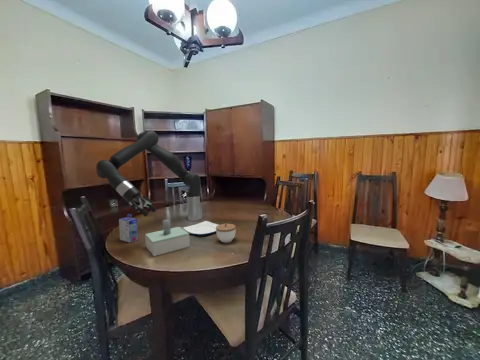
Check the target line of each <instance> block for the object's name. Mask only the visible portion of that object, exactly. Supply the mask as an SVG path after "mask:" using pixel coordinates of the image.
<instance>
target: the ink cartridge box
mask: <svg viewBox="0 0 480 360" xmlns="http://www.w3.org/2000/svg"><path fill="white" fill-rule="evenodd" d="M132 216H133V214H132V213H131V214H130V213H128V214H127V216H126V217H122V218H119V219H118V224H119V225H118V226H119V228H118V229H119V240H120V241H123V242H127V243H133V242H137V241H138V240H139V231H138V229H139V227H138V219H137V218H135V217H134V218H133V217H132Z"/></svg>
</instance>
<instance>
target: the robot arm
mask: <svg viewBox="0 0 480 360" xmlns="http://www.w3.org/2000/svg"><path fill="white" fill-rule="evenodd" d="M136 137H137V138H136V140H137V141H135V142H133V143H130V144H129V145H128V146H125V147H124V148H121V149H120V150H118V151H117V152H115V153H114V154H112V155H111V156H110V157H109V159H108V160H105V159H101V160H98V161H97V163H96V166H95V168H96V172H95V173H96V175H97V177H98V178H101V179H106V180H107V181H108V183H109V185H110V186H111V187H112V189H114V190H115V191H116V192H117V193H118V194H119V195H120V196H121V197H122V198H123V200H125V201H126V202H127V203H128V204H127V205H128V206H129V207H130V208H131V209H133V211H134V212H135V213H141V215H143V216H144V217H148V215H149V214H150V212H148V211H147V210H146V209H145V208H144V207H147V208H148V209H149V210H150V211H151V212H152V213H155V212H156V211H157V208H156V207H155V206H154V205H153V203H154V202H153V201H152V200H150V199H149V198H148V196H147V195H145V194H144V195H143V196H142V195H141V191H140V190H139V189H137V188H136V187H135V186H134V185H133V183H131V182H130V181H128V180H127V179H126V178H125V177H124V176H123V175H122V174H121V173H120V171H119V170H120V168H121V167H122V166H123V165H125V164H126V163H128V162H129V161H131V160H132V159H134V158H135V157H136V156H138V155H139V154H141V153H142V152H144V151H145V150H146V151H147V152H149V153H150V154H151V155H153V157H155V158H156V159H157V160H159V162H160V163H162V164H163V165H164V166H165V167H166V168H167V169H168V170H170V171H171V172H172V173H173V174H174V175H176V176H177V177H178V178H179V180H180V181H182V183H183V184H184V185H185V186H187V187H189V191H187V192H186V204H187V205H186V206H187V207H186V208H187V220H188V221H191V222H195V221H199V220H200V221H201V220H202V219H203V215H202V212H203V211H202V205H201V197H200V195H201V189H202V188H201V186H202V185H201V176H200V175H199V174H196V173H191V172H188V171H187V170H186V169H185V168H184V166H183V165H182V162H181V160H180V159H179V157H177V156H176V154H174V153H172V152H171V151H169V150H167V149H166V148H163V147H162V146H160V145H159V144H158V142H159V136H158V134H157V133H156V132H155V131H153V130H146V131H143V132H140V133H139V134H137V136H136Z"/></svg>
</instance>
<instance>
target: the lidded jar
mask: <svg viewBox="0 0 480 360" xmlns="http://www.w3.org/2000/svg"><path fill="white" fill-rule="evenodd" d="M236 228H237V227H236V225H235V224H232V223H222V224H218V226H216V232H215V233H216V236H217V238H218V240H219V241H220V242H222V243H231V242H232V241H233V240H234V238H235V236H236V230H237V229H236Z"/></svg>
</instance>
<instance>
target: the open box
mask: <svg viewBox="0 0 480 360" xmlns="http://www.w3.org/2000/svg"><path fill="white" fill-rule="evenodd" d="M144 238H145V247H146V248H147V250H148V251H149V252H150V254H152V256H153V257H156V256H160V255H163V254H169V253H172V252H174V251H178V250H181V249H186V248H189V247H191V243H190V234H189V235H188V236H184V237H180V238H176V239H172V240H167V241H163V242H159V243H155V244H152V243H151V241H150V240H149V239H148V238H147V237H146V236H144Z"/></svg>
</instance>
